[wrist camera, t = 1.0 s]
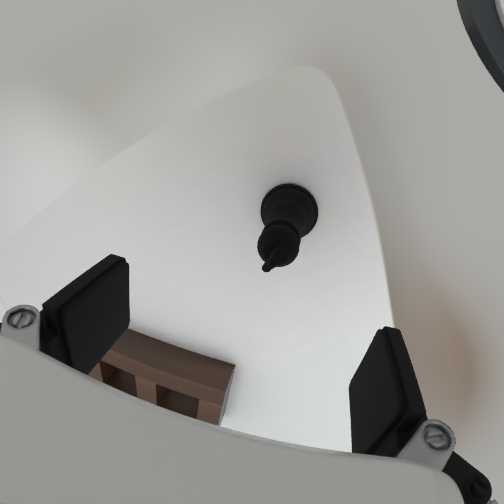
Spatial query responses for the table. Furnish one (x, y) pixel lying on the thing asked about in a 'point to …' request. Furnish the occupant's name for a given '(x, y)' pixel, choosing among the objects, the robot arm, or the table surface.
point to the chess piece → (285, 224)
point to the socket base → (167, 376)
